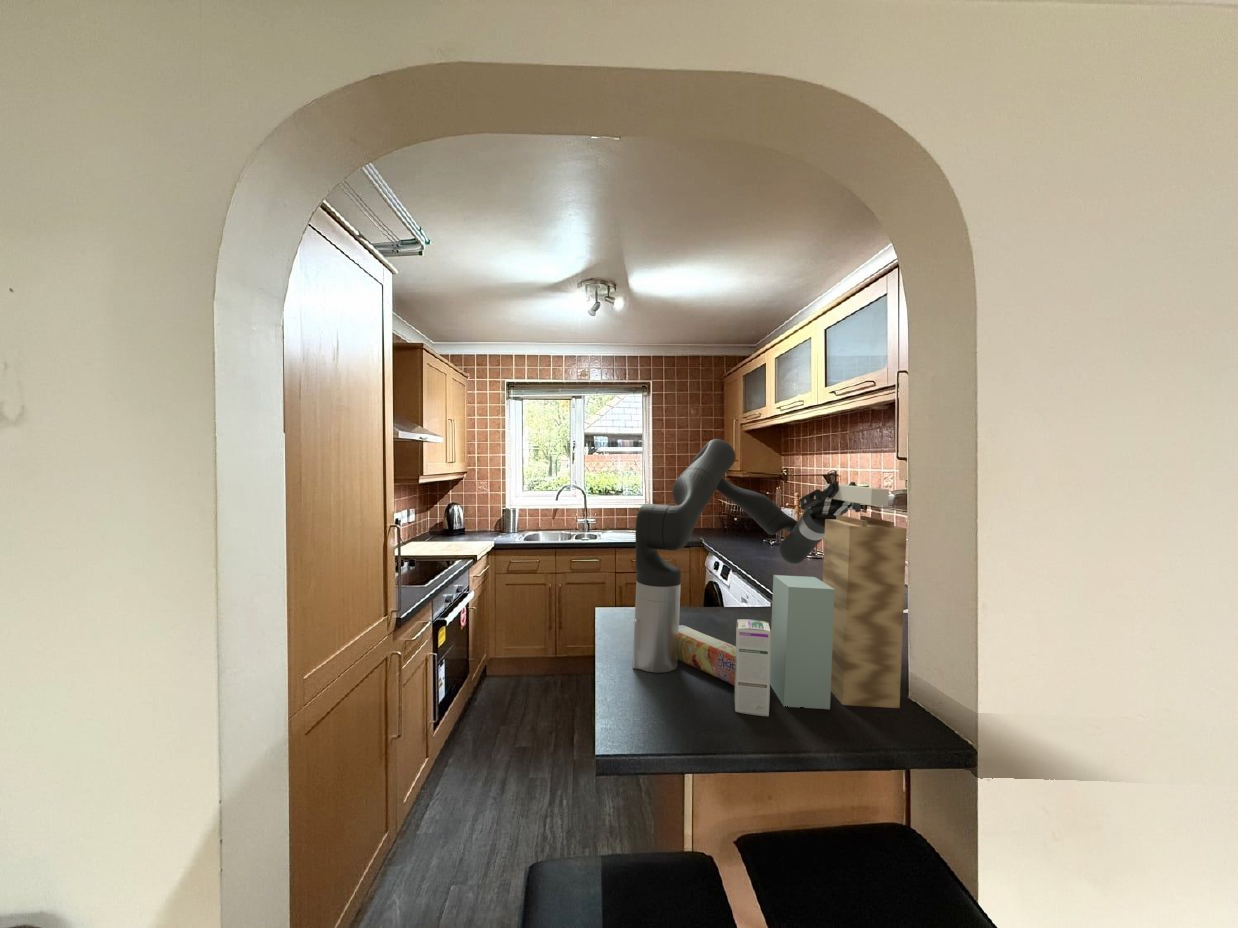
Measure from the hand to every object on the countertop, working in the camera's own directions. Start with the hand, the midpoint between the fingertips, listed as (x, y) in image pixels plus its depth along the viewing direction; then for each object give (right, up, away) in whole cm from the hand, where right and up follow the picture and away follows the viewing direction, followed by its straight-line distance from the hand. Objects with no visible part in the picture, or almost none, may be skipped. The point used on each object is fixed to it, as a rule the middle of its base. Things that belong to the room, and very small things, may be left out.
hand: (845, 485), depth 107 cm
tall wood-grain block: (-2, -39, -9) cm, 40 cm away
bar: (0, -3, -4) cm, 5 cm away
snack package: (-28, -38, -2) cm, 48 cm away
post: (-14, -38, -12) cm, 42 cm away
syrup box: (-24, -38, -18) cm, 48 cm away
